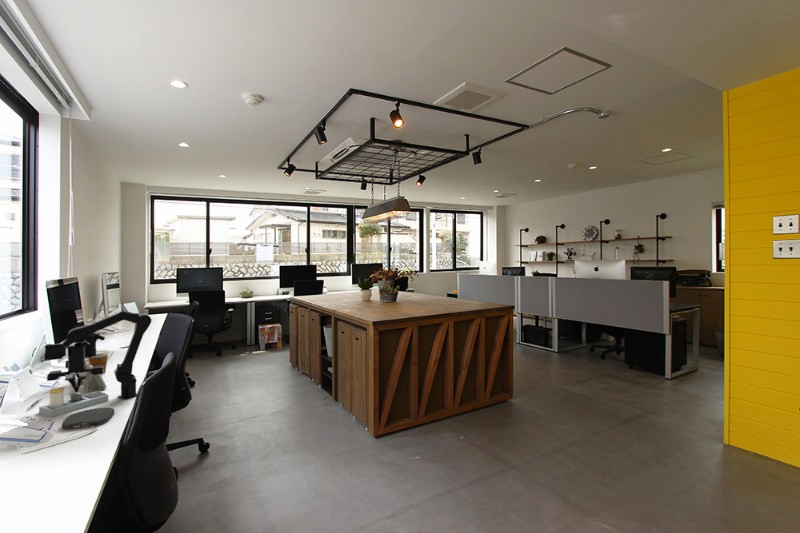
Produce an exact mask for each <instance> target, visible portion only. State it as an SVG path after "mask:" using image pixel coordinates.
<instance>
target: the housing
mask: <svg viewBox="0 0 800 533" xmlns="http://www.w3.org/2000/svg"><path fill="white" fill-rule="evenodd" d="M94 392H95V391H91V392H89V393H88V394H90V393H94ZM86 394H87V393H85V394H82V400H81V401H78V402H71V397H70V398H67V399H64V406H61V407H58V408H54V409H51V408H50V403H49V404H45V405H41V406H39V407H38V413H39V414H42V415H45V416H48V417H51V418H53V417H56V416H59V415H62V414H66V413H70V412H73V411H77V410H80V409H83V408H86V407H90V406H93V405H97V404H101V403H103V402H106V401H107V402H108V401H109V394H107V393H106V395H102V396H99V397H95V398H92V399H91V398H88V397H85V396H83V395H86Z"/></svg>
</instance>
